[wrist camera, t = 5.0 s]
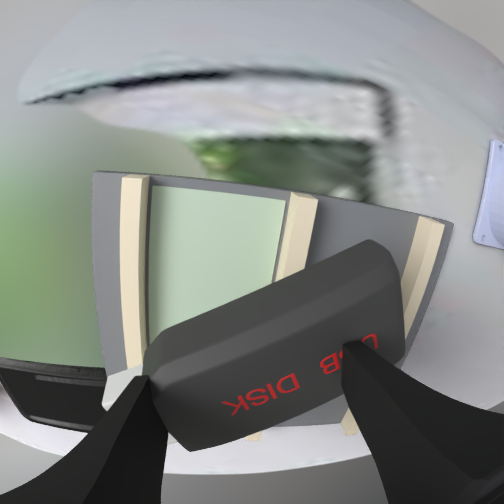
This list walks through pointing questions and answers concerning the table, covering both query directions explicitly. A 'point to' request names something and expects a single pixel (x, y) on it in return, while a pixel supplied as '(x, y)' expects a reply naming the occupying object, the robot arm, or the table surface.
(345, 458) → the table surface
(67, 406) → the phone
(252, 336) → the usb drive
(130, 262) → the gray striped board
